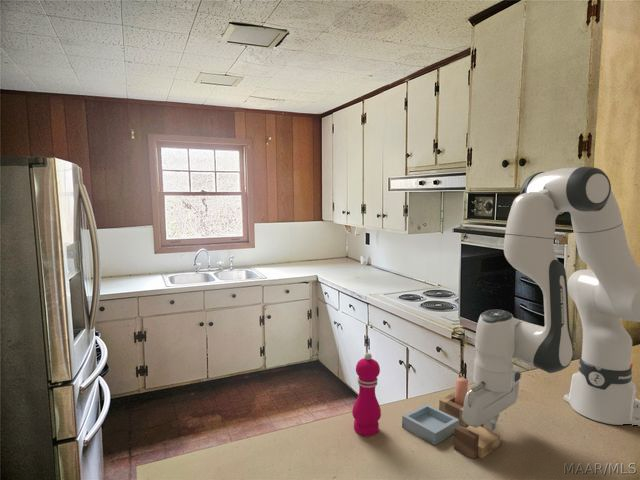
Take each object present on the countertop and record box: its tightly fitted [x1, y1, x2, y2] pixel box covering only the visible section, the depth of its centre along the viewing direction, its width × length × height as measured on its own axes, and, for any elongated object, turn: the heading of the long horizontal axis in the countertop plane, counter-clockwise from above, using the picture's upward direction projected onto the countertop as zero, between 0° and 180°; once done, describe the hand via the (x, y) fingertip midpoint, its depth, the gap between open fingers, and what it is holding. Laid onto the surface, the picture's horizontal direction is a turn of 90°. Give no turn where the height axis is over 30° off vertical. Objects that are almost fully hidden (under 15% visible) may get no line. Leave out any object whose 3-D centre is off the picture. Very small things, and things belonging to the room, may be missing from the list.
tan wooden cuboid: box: [464, 425, 501, 459], centre depth 100 cm, size 8×7×2 cm
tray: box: [401, 403, 460, 446], centre depth 106 cm, size 10×10×3 cm
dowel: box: [455, 377, 469, 407], centre depth 113 cm, size 3×3×10 cm
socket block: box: [438, 391, 469, 427], centre depth 113 cm, size 8×8×4 cm
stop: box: [453, 425, 479, 459], centre depth 97 cm, size 2×5×5 cm, turn 39°
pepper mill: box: [351, 352, 382, 437], centre depth 105 cm, size 7×7×20 cm
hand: (489, 430), depth 103 cm, fingers closed
